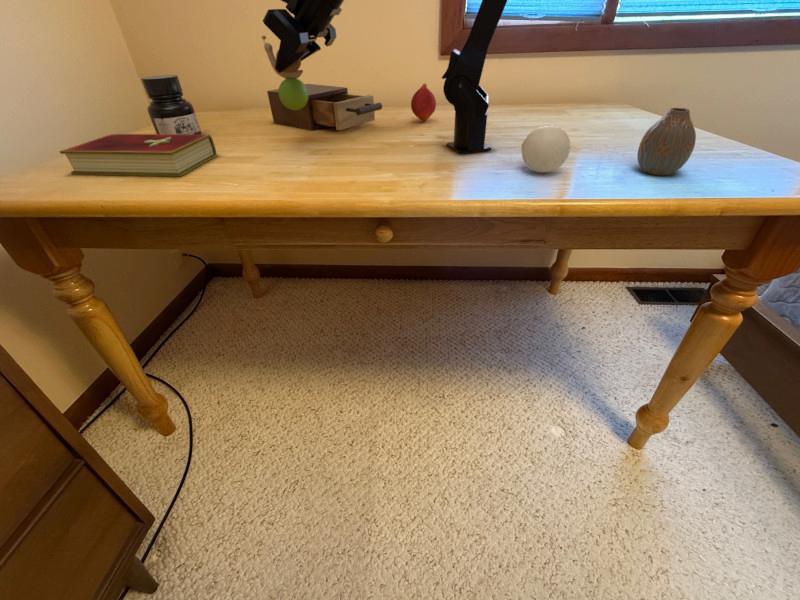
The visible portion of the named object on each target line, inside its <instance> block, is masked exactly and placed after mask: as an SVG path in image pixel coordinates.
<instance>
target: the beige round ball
mask: <svg viewBox="0 0 800 600" xmlns="http://www.w3.org/2000/svg"><path fill="white" fill-rule="evenodd" d="M570 151H571V140H570V137H569V135H568V133H567V132H566V131H565V130H564V129H563V128H561V127H559V126H556V125H542V126H539V127H537V128H535V129H533V130H532V131H530V132H529V133H528V135H526V137H525V138H524V140H523V141H522V143H521V157H522V160H523V162H524V164H525V166H526V167H527V168H529V170H531V171H533V172H536V173H541V174H542V173H543V174H544V173H551V172H553V171H556V170H557V169H559V168H561V167H562V166H563V165H564V164H565V162H566V161H567V159H568V157H569V154H570Z"/></svg>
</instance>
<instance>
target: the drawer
mask: <svg viewBox="0 0 800 600" xmlns="http://www.w3.org/2000/svg"><path fill="white" fill-rule="evenodd" d="M374 101H375V99H374V95H373V94H367V95H358V94H352V93H351V94H350V93H348V94H342V93H338V94H333V95H328V96H323V97H318V98H314V99H310V103H311V110H312V116H313V123H316V124H321V125H327V126H326V127H334V128H335V127H336V129H335V130H336V131H343V130H347V129H350V128H354V127H356V126H357V127H358V126H360V125H364V124H367V123H370V122H371V123H372V122H374V121H376V115H375V112H377V111H380V110H382V109H383V104H382V102H376V103H375V102H374Z"/></svg>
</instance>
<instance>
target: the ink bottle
mask: <svg viewBox="0 0 800 600" xmlns="http://www.w3.org/2000/svg"><path fill="white" fill-rule="evenodd" d="M140 81H141V83H142V85H143V88H144V91H145V93H146V95H147V98H148V99H149V100H151V101H150V102H149V105H148V106H147V110H146V111H147V114H148V116H149V118H150V121H151V124H152V127H153V129H154V132H155V134H195V135H202V131H201V130H202V129H201V126H200V124H199V120H198V117H197V115H196V114H197V113H196V112H195V109H194V106H193V104H192V103H191V102H190V101H188V100H187V99H186V98H184V97H183V96H184V92H183V89H182V85H181V83H180V80H179V76H178V75H177V74H159V75H150V76H144V77H141V78H140Z"/></svg>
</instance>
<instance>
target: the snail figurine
mask: <svg viewBox="0 0 800 600" xmlns="http://www.w3.org/2000/svg"><path fill="white" fill-rule="evenodd" d="M261 39H262V41H264V42H263V44H264V45H263V49H264V51H265V52H266V55H267V58H268V61H269V62H270V65H271V67H272V69H273V70H274V72H275V74H277V75H278V76H279V77H281V78H283V79H284V80H282V81H281V82H280V84H279V86H278V89H279V91H278V93H279V98H280V100H281V102H282V103H283V105H284V106H285V107H287V108H288V109H291V110H300V109H302V108H303V107H304V106H305V105H306V103H307V101H308V91H307V88H306V86H305V85H304V84H305V83H304V82H303V81H302V80H300V79H299V78H300V77H301V76H302V74H303V73H304V70H303V69H300V68H301V66H302V61H301V59H299V60H298V61H297V62H295V63H294V64H292V65H291V66H290V67H288V68H287V69H285V70H284V71H283V72H281V73H279V72H278V71H277V70H276V69H275V66H276V61H277V56H278V52H279V49H277V52H276V54H274V51H273V50H274V49H273V48H274V47H273V46H272V44H271V43H269V42H266V39H267V37H266V35H262V36H261Z"/></svg>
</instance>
